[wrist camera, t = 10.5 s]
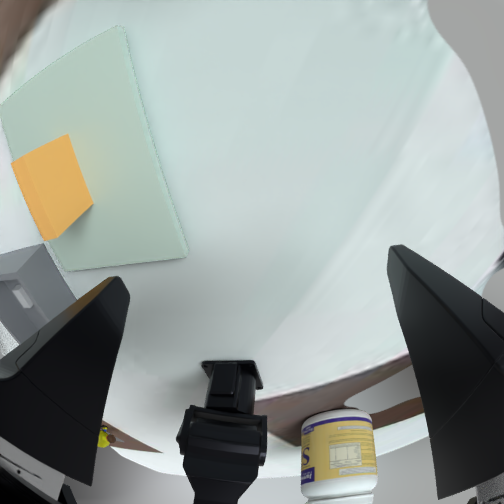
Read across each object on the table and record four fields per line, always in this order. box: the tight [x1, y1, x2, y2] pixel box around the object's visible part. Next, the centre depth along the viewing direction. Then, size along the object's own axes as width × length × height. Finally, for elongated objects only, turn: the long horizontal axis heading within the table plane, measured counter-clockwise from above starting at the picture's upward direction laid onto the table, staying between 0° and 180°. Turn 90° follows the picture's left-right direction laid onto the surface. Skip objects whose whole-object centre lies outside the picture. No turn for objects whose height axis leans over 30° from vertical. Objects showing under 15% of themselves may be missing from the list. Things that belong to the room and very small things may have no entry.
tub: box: [0, 244, 77, 345], centre depth 29 cm, size 18×14×5 cm
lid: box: [0, 26, 189, 272], centre depth 17 cm, size 18×14×7 cm
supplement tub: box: [301, 409, 378, 504], centre depth 35 cm, size 12×12×17 cm
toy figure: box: [98, 426, 116, 447], centre depth 57 cm, size 18×6×7 cm, turn 133°
